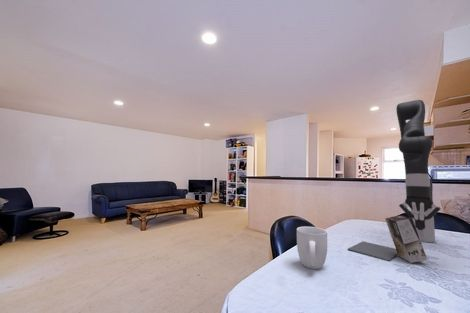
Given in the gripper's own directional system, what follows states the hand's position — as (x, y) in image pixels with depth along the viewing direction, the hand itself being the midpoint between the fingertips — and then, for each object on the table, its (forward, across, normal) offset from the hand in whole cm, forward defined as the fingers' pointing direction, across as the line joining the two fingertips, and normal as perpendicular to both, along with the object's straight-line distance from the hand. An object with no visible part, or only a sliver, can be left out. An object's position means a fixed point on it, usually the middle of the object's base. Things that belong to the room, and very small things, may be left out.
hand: (420, 229), depth 84 cm
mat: (+13, +17, -2) cm, 21 cm away
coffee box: (+12, +4, -2) cm, 13 cm away
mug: (+14, +26, +35) cm, 46 cm away
